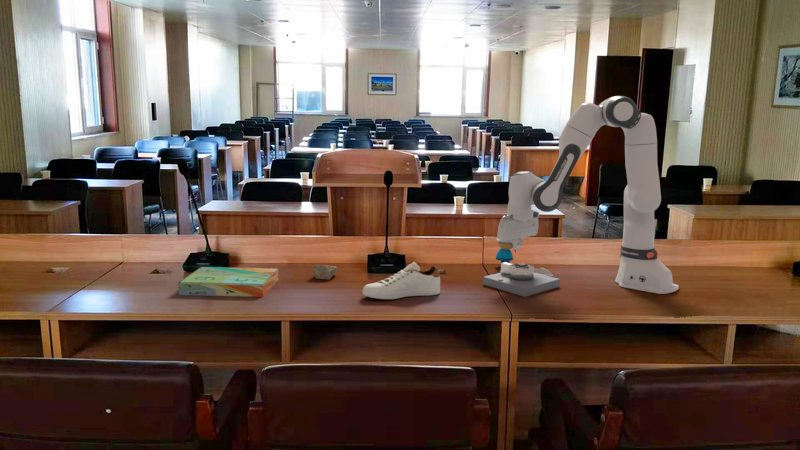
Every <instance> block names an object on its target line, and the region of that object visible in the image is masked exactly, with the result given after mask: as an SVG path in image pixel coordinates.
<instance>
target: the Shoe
mask: <svg viewBox="0 0 800 450" xmlns="http://www.w3.org/2000/svg"><path fill="white" fill-rule="evenodd" d="M440 275H441V274H440V272H439V268H438V266H436V265H431V267H430V268H429V269H427V270H421V267H420V266H419V265H418V264H417V263H416V262H415V261H412V262H411V263H409V264H407V266H405V267H404V268H403V269H400V271H398V272H397V273H393V275H389V277H386V278H384V279H381V280H379V281H376V282H373V283H368V284H365V285H364V287H363V288H362V294H363V295H364V296H365V297H367V298H370V299H371V298H372V299H377V300H396V299H401V298H408V297H428V296H430V297H431V296H432V297H433V296H437V295H439V294H440V293H441V277H440Z"/></svg>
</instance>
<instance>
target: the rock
mask: <svg viewBox="0 0 800 450" xmlns="http://www.w3.org/2000/svg"><path fill="white" fill-rule="evenodd" d="M312 269H313V272H312V273H313V274H314V276H315V278H316V279H317V280H324V281H325V280H327V281H328V280H329V281H330V280H331V279H332V277H333V276H334V275H335V274H336V273H337V272H338V271H339V268H338V266H334V265H323V264H314V265H313V266H312Z"/></svg>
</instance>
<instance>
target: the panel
mask: <svg viewBox="0 0 800 450" xmlns="http://www.w3.org/2000/svg"><path fill="white" fill-rule="evenodd" d="M560 281H561V279H560V278H557V277H554V276H550V275H545V274H542V273H539V272H538V273H537V272H534V278H533V279H531V280H516V279H512V278H510V277H509V274H508V273H504V272H501V270H500V271H499V272H497V273H492V274H488V275H485V276H483V277H482V285H484V286H487V287H490V288H494V289H497V290H501V291H505V292H507V293H512V294H515V295H518V296H521V297H524V298H526V297H529V296H533V295H536V294H540V293H543V292H546V291H549V290H553V289H556V288H560V283H561V282H560Z"/></svg>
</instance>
